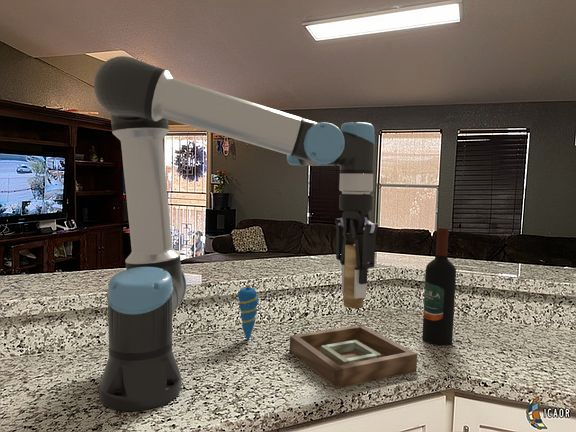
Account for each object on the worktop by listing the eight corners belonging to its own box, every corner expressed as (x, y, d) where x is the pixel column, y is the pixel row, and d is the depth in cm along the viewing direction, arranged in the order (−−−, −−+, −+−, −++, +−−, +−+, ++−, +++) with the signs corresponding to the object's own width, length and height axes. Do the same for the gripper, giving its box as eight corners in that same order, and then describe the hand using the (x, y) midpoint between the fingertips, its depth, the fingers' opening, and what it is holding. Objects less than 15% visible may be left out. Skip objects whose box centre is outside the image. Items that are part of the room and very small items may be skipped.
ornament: (248, 344, 112) (248, 286, 111) (233, 339, 115) (233, 282, 114) (261, 339, 116) (262, 282, 115) (246, 334, 119) (247, 279, 118)
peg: (350, 309, 100) (352, 247, 98) (340, 304, 104) (341, 244, 102) (366, 307, 102) (368, 246, 100) (355, 302, 106) (357, 243, 104)
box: (336, 389, 90) (336, 370, 89) (289, 351, 108) (289, 335, 108) (416, 371, 99) (417, 353, 99) (360, 339, 118) (361, 324, 117)
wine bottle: (456, 346, 115) (463, 230, 112) (426, 345, 115) (432, 229, 112) (446, 335, 122) (452, 226, 119) (418, 334, 122) (424, 225, 120)
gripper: (394, 194, 94) (391, 302, 96) (348, 191, 110) (346, 284, 112) (365, 194, 91) (362, 306, 93) (322, 191, 106) (320, 287, 108)
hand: (353, 294), depth 102 cm, fingers closed on peg, 4 cm apart
